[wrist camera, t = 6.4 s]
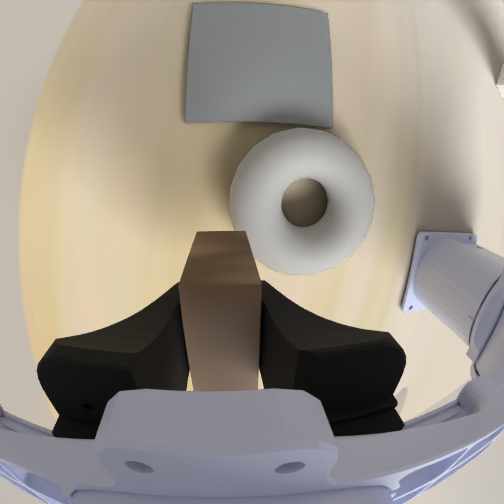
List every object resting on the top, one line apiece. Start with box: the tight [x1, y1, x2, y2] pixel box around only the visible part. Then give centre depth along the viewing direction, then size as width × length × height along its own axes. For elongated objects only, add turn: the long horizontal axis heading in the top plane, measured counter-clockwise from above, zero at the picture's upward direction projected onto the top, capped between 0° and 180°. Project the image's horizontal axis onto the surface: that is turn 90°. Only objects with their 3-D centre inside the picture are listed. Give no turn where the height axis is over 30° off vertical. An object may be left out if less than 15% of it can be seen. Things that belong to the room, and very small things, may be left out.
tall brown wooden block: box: [178, 231, 262, 391], centre depth 12 cm, size 2×6×6 cm, turn 179°
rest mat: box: [185, 2, 333, 128], centre depth 15 cm, size 10×10×1 cm
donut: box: [229, 127, 375, 275], centre depth 17 cm, size 10×3×10 cm
